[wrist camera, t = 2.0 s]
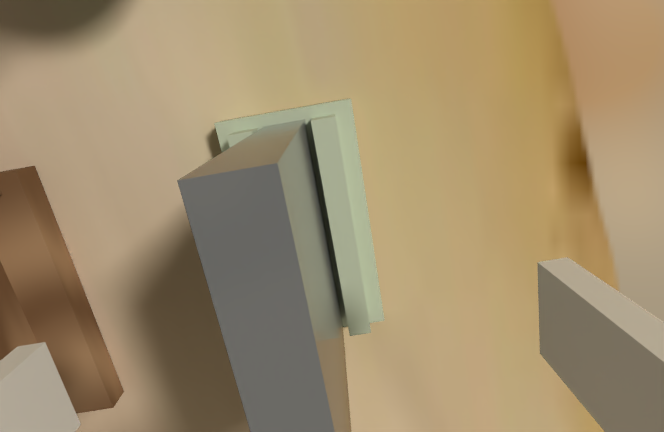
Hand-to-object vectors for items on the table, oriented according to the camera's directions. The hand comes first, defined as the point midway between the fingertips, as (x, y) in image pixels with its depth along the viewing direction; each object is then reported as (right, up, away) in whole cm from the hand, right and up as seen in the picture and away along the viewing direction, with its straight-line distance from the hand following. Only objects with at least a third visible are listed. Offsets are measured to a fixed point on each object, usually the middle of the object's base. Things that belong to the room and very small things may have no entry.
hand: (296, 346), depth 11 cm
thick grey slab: (0, +3, +8) cm, 9 cm away
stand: (0, +3, +9) cm, 10 cm away
